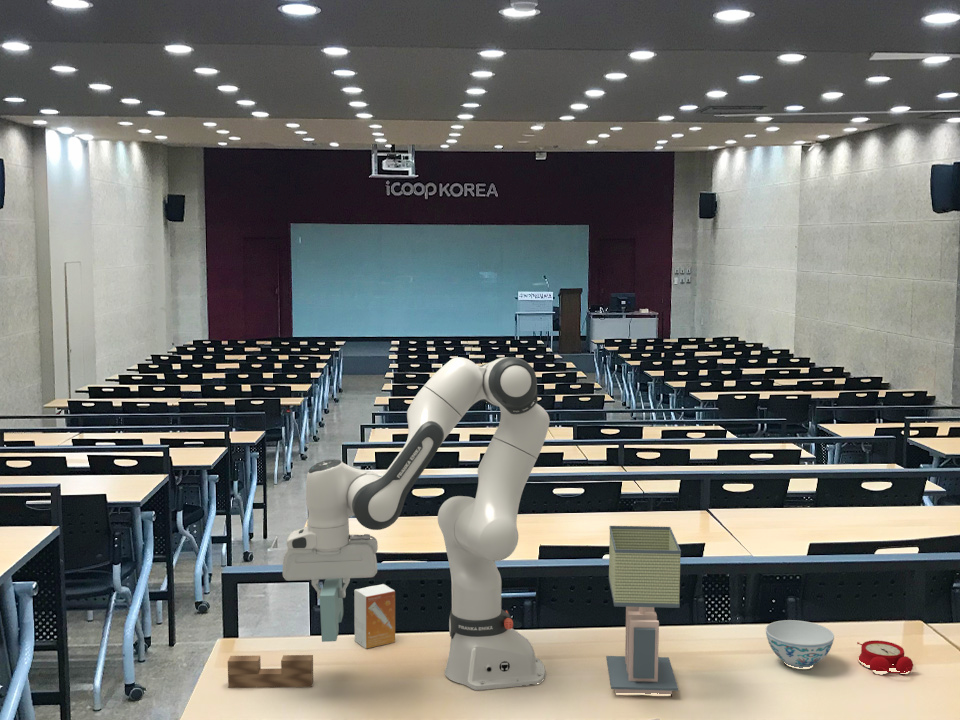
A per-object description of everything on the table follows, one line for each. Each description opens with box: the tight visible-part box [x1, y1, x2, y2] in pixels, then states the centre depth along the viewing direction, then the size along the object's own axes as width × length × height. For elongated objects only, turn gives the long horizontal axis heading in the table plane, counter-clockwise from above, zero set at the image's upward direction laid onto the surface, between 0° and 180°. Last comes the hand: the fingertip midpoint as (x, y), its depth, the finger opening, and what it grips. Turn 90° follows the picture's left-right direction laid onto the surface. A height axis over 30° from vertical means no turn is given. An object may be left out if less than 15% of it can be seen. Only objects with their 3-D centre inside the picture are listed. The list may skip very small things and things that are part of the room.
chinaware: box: [765, 619, 835, 668], centre depth 242 cm, size 15×15×8 cm
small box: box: [353, 583, 396, 650], centre depth 254 cm, size 8×6×13 cm
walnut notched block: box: [227, 654, 314, 689], centre depth 230 cm, size 18×3×6 cm, turn 92°
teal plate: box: [319, 579, 344, 643], centre depth 229 cm, size 3×16×10 cm, turn 2°
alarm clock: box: [856, 639, 914, 674], centre depth 241 cm, size 10×6×15 cm
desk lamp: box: [606, 525, 682, 695], centre depth 230 cm, size 18×14×33 cm
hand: (331, 597), depth 229 cm, fingers closed on teal plate, 3 cm apart
